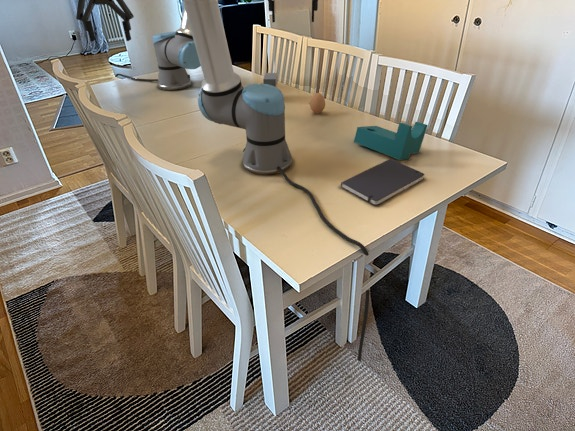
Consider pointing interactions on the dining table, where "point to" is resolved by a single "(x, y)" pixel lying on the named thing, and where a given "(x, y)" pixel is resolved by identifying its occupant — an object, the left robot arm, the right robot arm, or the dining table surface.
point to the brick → (271, 79)
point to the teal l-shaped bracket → (392, 139)
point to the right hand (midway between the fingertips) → (293, 21)
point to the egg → (317, 103)
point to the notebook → (382, 181)
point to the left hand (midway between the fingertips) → (111, 40)
